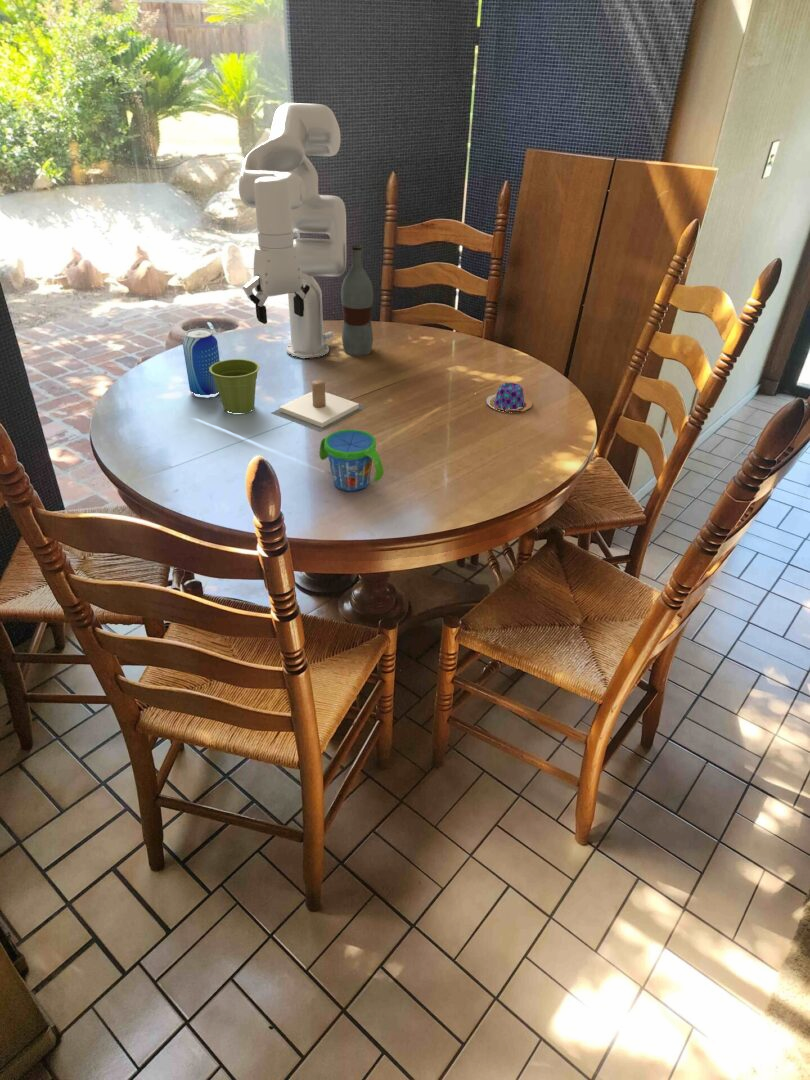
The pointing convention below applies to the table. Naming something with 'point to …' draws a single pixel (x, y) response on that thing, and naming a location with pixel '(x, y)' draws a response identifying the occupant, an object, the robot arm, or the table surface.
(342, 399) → the lid
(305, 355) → the robot arm
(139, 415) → the table surface
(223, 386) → the plant pot
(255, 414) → the table surface
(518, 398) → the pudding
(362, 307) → the bottle
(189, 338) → the beer can
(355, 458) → the snack cup
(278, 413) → the mat
